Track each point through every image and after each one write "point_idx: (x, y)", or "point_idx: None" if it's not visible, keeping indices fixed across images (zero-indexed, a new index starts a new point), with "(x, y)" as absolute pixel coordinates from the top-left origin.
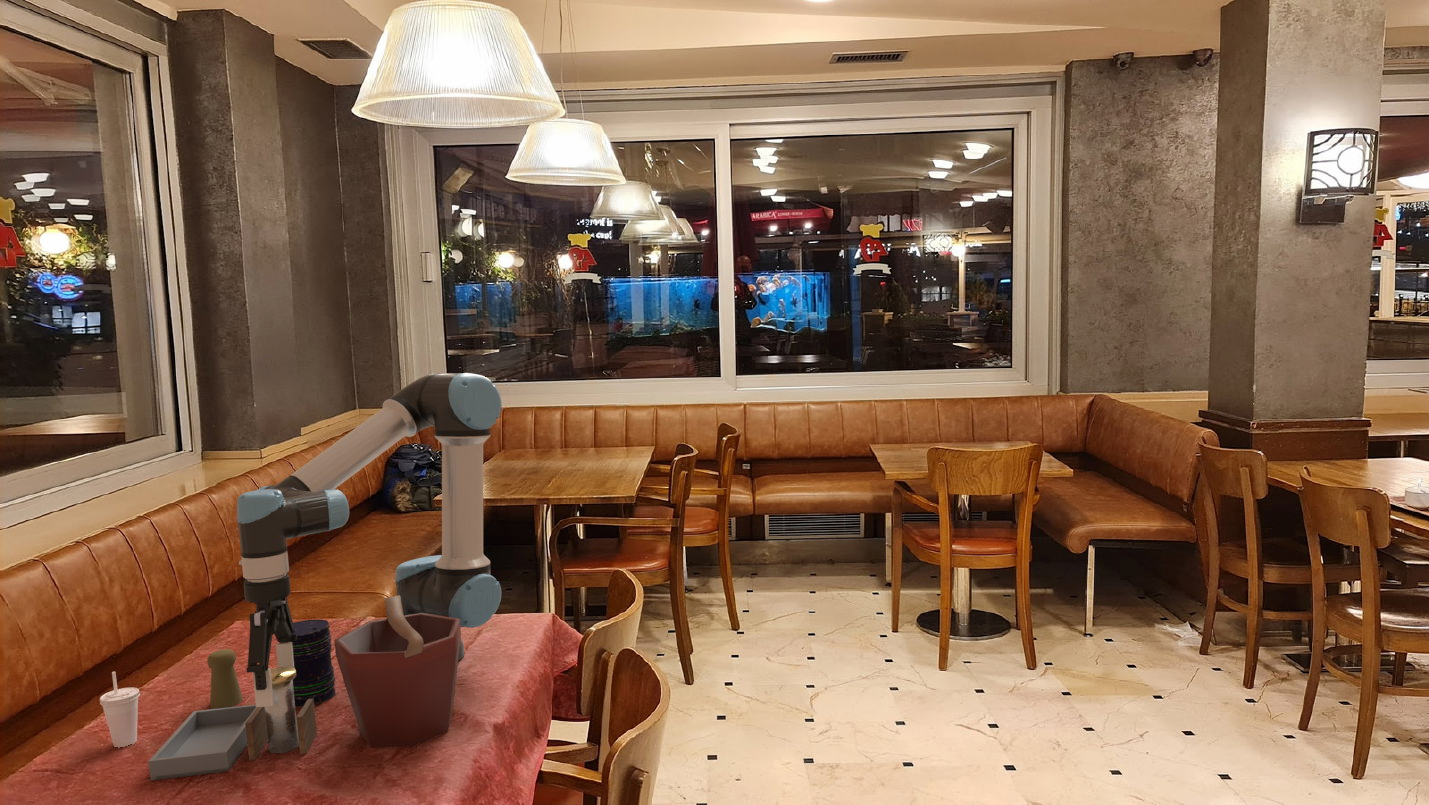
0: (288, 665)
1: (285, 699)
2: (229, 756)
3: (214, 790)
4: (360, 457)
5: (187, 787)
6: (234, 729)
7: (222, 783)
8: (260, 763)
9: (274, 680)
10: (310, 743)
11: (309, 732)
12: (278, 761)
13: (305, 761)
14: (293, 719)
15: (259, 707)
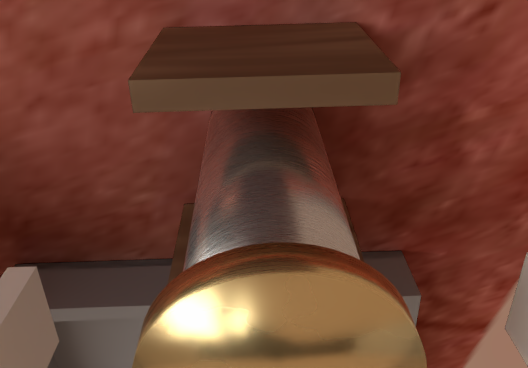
0: (6, 356)
1: (336, 214)
2: (389, 278)
3: (521, 247)
4: None
5: (462, 318)
6: (103, 327)
7: (482, 241)
8: (377, 173)
9: (424, 363)
10: (277, 26)
11: (279, 38)
12: (384, 115)
13: (428, 3)
14: (290, 130)
15: None
